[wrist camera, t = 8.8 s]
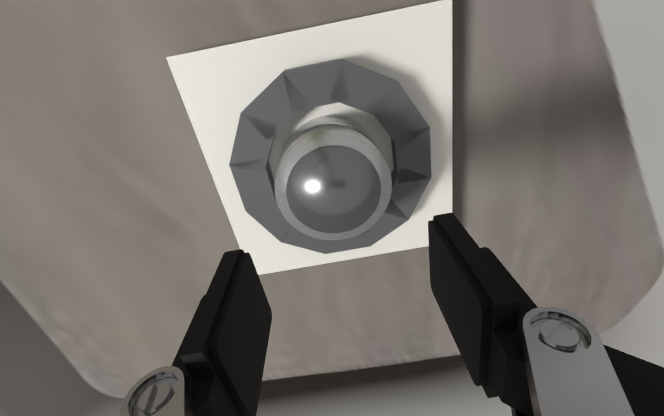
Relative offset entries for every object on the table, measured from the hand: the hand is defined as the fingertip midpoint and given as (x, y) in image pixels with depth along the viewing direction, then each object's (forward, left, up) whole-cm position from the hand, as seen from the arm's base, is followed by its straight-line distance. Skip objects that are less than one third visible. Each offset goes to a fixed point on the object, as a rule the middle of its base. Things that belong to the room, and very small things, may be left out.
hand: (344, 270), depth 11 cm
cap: (0, 0, -10) cm, 10 cm away
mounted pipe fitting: (0, 0, -12) cm, 12 cm away
